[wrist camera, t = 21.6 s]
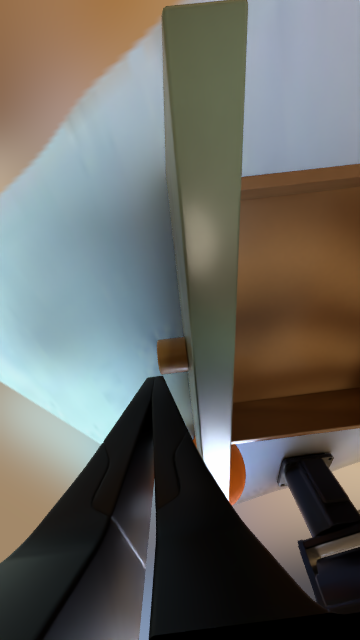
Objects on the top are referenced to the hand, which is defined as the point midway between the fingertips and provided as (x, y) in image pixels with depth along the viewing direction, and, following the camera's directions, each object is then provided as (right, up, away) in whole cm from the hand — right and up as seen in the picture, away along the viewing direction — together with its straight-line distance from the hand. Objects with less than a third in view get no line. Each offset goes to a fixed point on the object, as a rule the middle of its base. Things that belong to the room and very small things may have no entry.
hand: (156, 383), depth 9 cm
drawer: (+9, +3, +4) cm, 11 cm away
